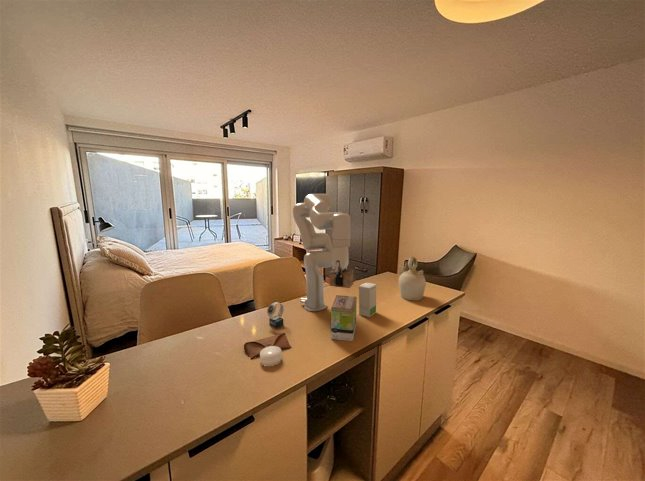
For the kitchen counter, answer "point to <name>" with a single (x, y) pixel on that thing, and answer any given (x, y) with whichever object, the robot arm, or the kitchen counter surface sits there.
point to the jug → (412, 282)
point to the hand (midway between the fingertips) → (341, 282)
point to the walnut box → (346, 276)
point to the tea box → (343, 318)
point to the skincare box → (367, 299)
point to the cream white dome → (270, 355)
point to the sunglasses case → (266, 344)
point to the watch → (275, 320)
